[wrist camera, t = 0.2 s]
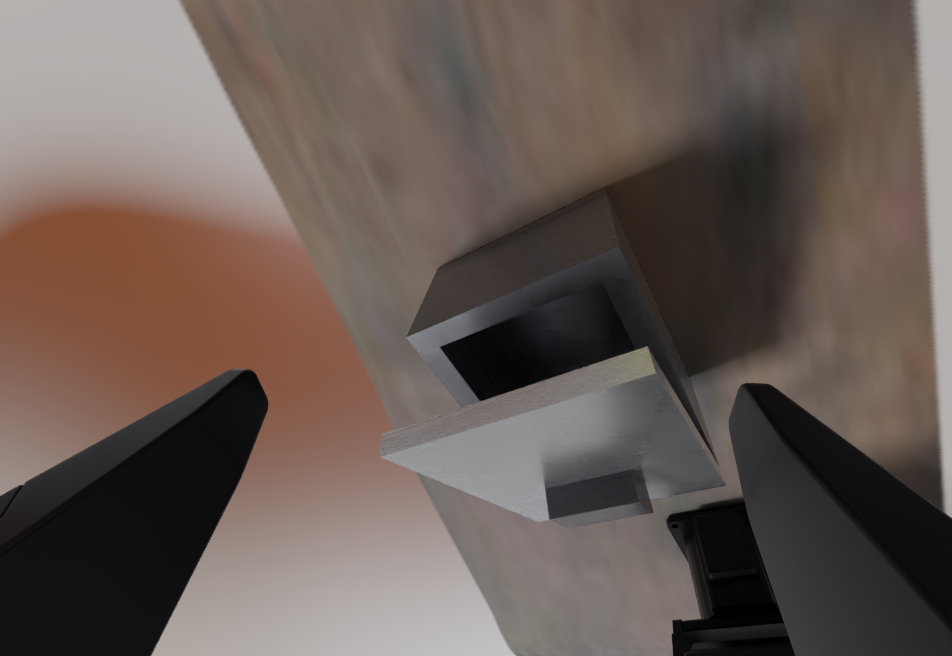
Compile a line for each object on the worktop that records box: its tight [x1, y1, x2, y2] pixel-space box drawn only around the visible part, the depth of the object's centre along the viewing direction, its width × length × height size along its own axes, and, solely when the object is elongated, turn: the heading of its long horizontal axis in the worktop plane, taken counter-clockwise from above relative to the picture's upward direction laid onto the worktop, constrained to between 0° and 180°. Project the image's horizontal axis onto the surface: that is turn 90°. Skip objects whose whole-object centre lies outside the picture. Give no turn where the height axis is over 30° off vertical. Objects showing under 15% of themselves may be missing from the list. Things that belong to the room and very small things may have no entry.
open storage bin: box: [406, 188, 719, 465], centre depth 22 cm, size 12×9×6 cm
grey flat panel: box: [380, 346, 726, 528], centre depth 17 cm, size 12×9×2 cm
